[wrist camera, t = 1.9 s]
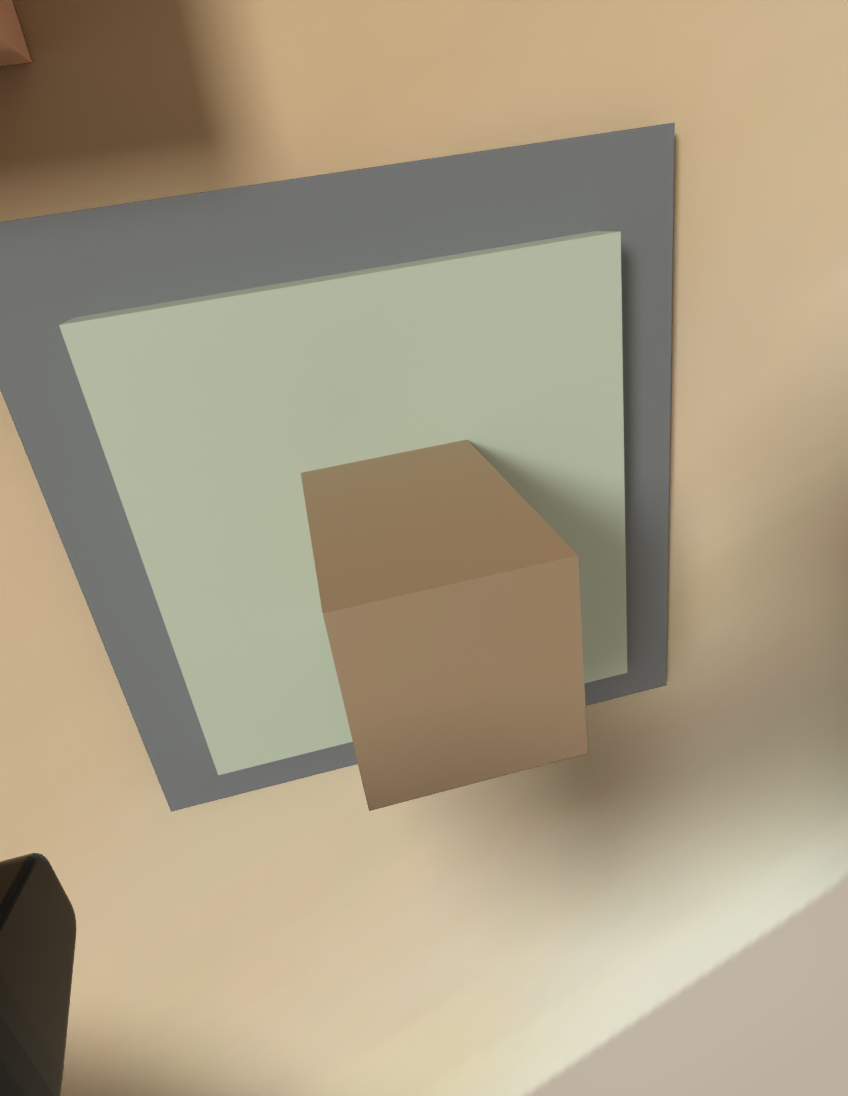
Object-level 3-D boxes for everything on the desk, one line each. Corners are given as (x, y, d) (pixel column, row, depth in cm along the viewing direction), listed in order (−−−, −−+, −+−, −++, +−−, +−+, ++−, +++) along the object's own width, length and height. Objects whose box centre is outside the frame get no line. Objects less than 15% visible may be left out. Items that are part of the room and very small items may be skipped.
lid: (607, 648, 17) (773, 850, 11) (220, 743, 15) (199, 1019, 10) (595, 231, 13) (841, 235, 7) (75, 317, 11) (-89, 396, 6)
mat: (658, 676, 18) (666, 685, 17) (173, 798, 16) (171, 811, 16) (662, 125, 12) (674, 122, 12) (-53, 231, 11) (-64, 232, 11)
